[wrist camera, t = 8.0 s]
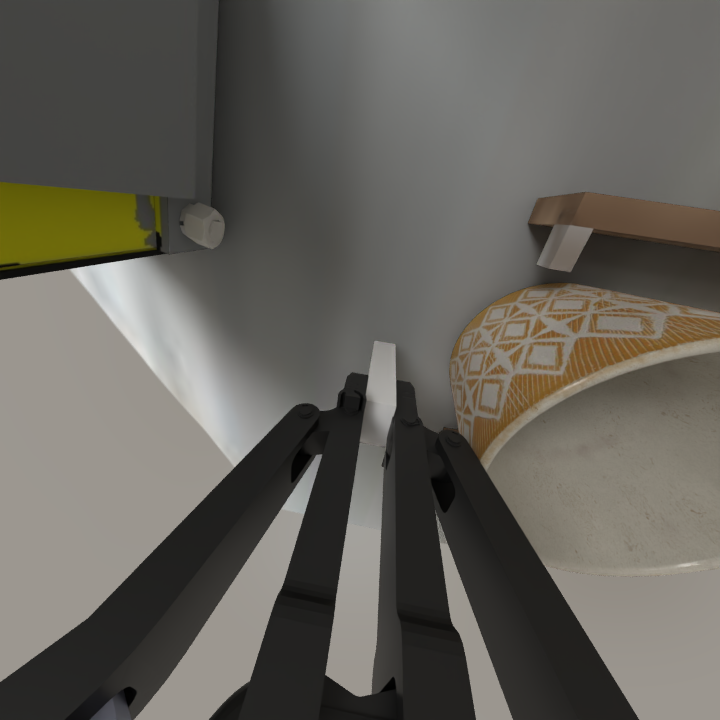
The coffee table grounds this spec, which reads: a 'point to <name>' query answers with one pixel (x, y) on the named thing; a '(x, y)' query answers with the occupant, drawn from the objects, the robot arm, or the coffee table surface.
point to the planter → (598, 425)
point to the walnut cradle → (618, 225)
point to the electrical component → (105, 131)
